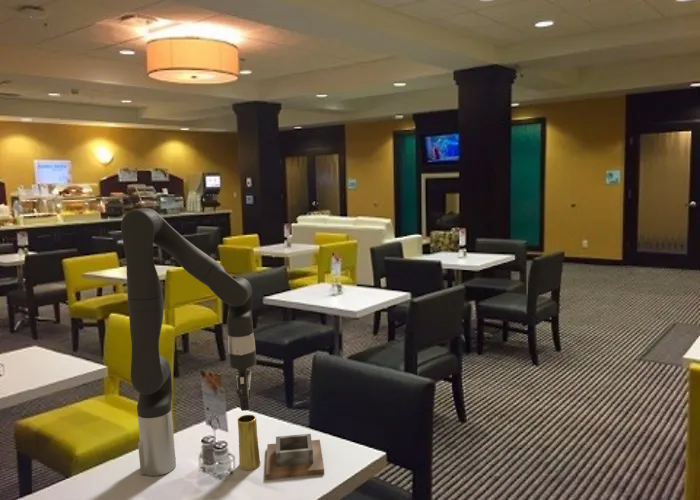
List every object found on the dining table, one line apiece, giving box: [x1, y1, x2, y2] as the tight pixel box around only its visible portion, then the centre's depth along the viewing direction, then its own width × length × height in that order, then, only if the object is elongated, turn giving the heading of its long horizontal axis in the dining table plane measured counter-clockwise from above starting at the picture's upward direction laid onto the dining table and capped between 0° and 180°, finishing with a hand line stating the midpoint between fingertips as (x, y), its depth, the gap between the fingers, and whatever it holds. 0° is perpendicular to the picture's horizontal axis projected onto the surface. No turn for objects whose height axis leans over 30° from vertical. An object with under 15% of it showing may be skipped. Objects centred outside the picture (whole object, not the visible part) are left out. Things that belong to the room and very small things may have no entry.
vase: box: [237, 414, 261, 471], centre depth 169 cm, size 6×6×14 cm
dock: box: [265, 433, 325, 481], centre depth 171 cm, size 16×18×6 cm
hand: (245, 404), depth 167 cm, fingers open, 8 cm apart
